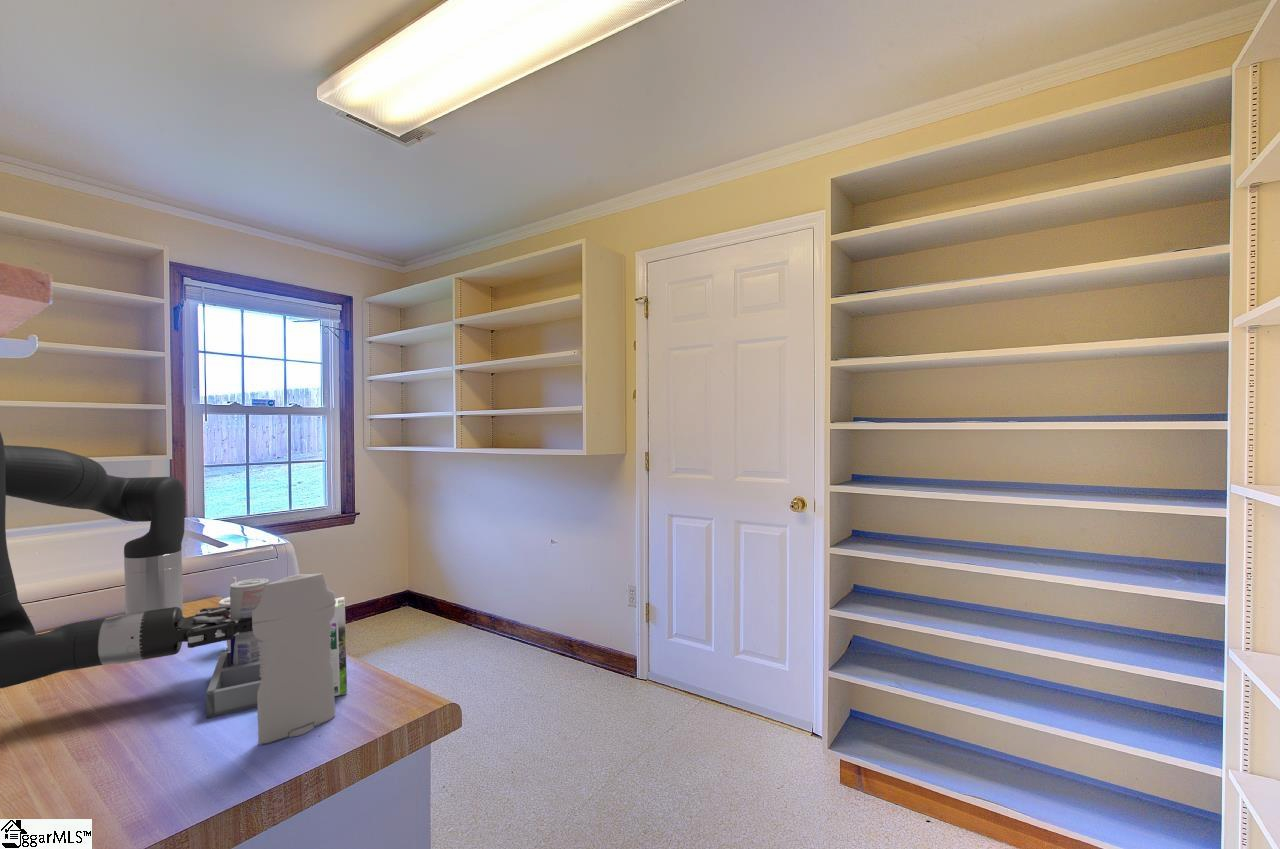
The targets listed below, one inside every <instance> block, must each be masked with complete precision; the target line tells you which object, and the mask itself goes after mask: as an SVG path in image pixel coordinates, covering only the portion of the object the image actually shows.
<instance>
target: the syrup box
mask: <svg viewBox="0 0 1280 849" xmlns="http://www.w3.org/2000/svg"><path fill="white" fill-rule="evenodd" d="M345 602H346V601H345V596H342V597H338V598H336V597H335V614H334V616H333V618H332V620H331V621H330V624H332V628H331V629H330V630H331V632H330V633H331V635H330V637H331V639H330V640H331V642H330V643H331V644H330V645H331V647H330V648H331V650H330V651H331V653H330V654H331V656H330V660H331V663H332V665H333V668H334V697H338V696H339V697H340V696H343V695H346V694H347V693H348V680H347V679H348V674H347V673H348V671H347V670H348V669H347V665H348V664H347V635H346V634H347V633H346V632H347V631H346V604H345Z"/></svg>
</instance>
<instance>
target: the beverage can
mask: <svg viewBox="0 0 1280 849" xmlns="http://www.w3.org/2000/svg"><path fill="white" fill-rule="evenodd" d="M269 581H270V580H269V579H268V578H264V577H262V578H250V579H245V580H239V581H236V582H235V583H233V582H232V583H231V584H230V585H229V587H230V590H229V594H230V595H229V597H230V619H241V618H248V617H252V611H253V610H254V609H255V608H256V607H257V606H258V605H259V604H260V600H261V597H262V593H263V587H264V585H265V584H268V583H270V582H269ZM259 641H260V640H259V639H258V638H256V637H255V636H254V635H253V631H248V632H242V633H241V632H240V634H239V635H236V636H234V638H233V639H231V667H232V666H237V665H242V664H247V663H253V662H258V661H259V660H260V658H259V656H260V654H259V652H260V651H258V649H259V648H260V647H258V645H257V643H258V642H259Z"/></svg>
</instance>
